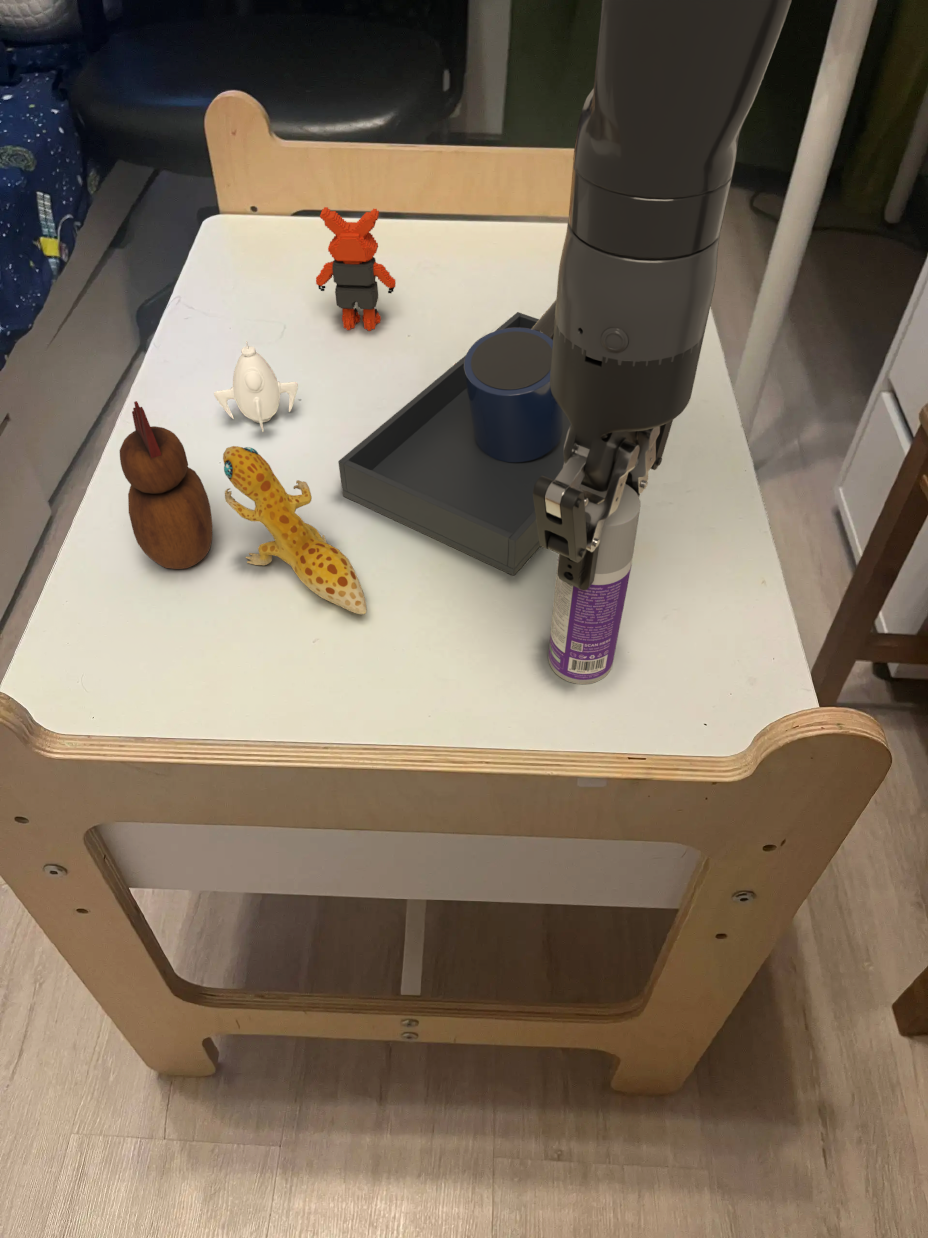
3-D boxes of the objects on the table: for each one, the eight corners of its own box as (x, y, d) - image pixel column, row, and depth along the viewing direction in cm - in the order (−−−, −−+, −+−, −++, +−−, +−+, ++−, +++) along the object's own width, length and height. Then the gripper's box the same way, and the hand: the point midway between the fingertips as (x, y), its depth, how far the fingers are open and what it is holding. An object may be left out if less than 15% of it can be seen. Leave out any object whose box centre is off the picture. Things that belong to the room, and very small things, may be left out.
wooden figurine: (219, 577, 72) (173, 418, 60) (144, 585, 71) (83, 427, 60) (220, 519, 76) (177, 362, 65) (149, 527, 75) (94, 369, 64)
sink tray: (669, 400, 87) (676, 365, 84) (513, 576, 72) (515, 541, 69) (516, 345, 93) (517, 311, 91) (342, 496, 78) (337, 461, 75)
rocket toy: (264, 442, 83) (248, 366, 77) (220, 422, 85) (201, 347, 79) (303, 411, 86) (290, 336, 80) (259, 393, 88) (244, 318, 82)
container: (623, 651, 66) (655, 492, 55) (594, 694, 64) (621, 537, 53) (567, 625, 68) (586, 466, 57) (536, 666, 66) (550, 508, 54)
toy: (268, 473, 75) (257, 410, 66) (401, 599, 73) (409, 553, 64) (207, 524, 73) (187, 467, 64) (342, 655, 71) (341, 616, 62)
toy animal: (402, 306, 99) (395, 193, 90) (396, 333, 95) (388, 219, 86) (329, 303, 99) (315, 191, 90) (320, 330, 95) (305, 216, 86)
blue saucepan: (542, 339, 87) (539, 267, 81) (617, 365, 84) (620, 292, 78) (456, 443, 81) (445, 375, 75) (533, 475, 79) (528, 407, 72)
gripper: (628, 237, 51) (596, 476, 64) (490, 356, 43) (484, 602, 56) (756, 274, 48) (695, 516, 61) (633, 409, 40) (593, 654, 53)
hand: (595, 556), depth 58 cm, fingers closed on container, 4 cm apart
